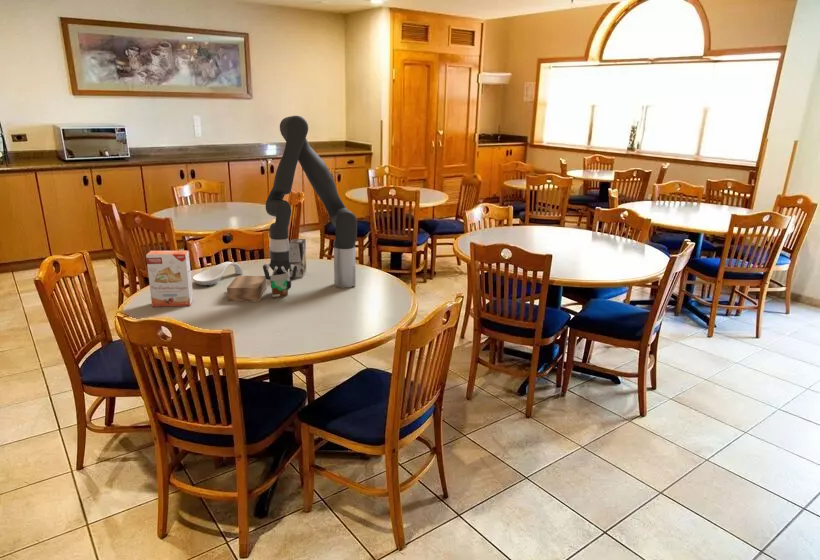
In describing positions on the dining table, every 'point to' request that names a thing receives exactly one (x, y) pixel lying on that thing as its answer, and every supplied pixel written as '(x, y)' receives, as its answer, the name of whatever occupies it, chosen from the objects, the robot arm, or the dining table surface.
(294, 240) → the coffee box
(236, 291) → the walnut block
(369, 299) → the dining table surface
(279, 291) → the food container
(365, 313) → the dining table surface
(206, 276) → the spoon rest
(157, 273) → the cracker box
